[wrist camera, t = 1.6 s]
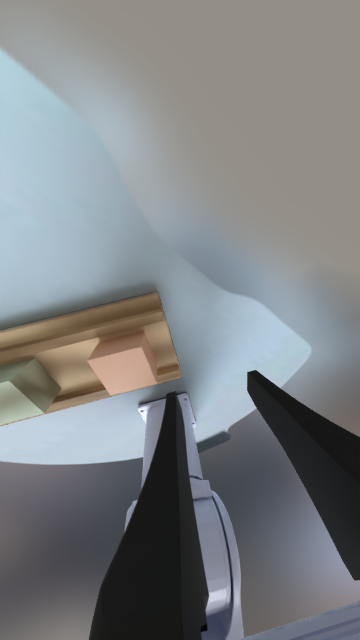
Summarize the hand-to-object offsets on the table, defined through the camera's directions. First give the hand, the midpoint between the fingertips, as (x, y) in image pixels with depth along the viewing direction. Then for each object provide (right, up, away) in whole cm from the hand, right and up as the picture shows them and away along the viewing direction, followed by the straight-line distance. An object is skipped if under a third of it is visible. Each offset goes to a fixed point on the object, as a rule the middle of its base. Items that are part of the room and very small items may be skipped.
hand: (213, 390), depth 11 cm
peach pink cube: (-8, +1, +6) cm, 10 cm away
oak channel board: (-16, 0, +7) cm, 18 cm away
